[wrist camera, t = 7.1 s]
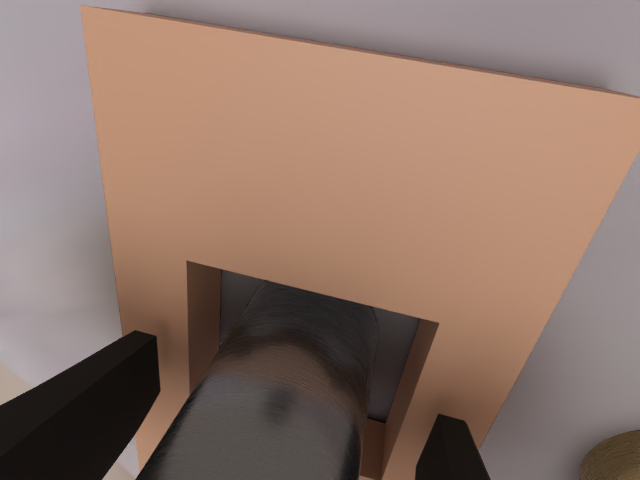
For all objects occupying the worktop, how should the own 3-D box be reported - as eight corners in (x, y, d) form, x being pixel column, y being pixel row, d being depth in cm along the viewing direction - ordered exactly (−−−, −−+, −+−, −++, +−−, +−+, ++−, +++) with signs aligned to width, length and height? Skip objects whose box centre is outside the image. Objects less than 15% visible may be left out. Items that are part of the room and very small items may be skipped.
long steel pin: (356, 390, 13) (302, 708, 7) (242, 350, 13) (91, 619, 7) (396, 295, 11) (372, 618, 5) (261, 250, 11) (74, 502, 5)
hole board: (407, 521, 15) (407, 583, 13) (171, 447, 16) (143, 495, 15) (608, 89, 8) (665, 102, 6) (145, 13, 9) (79, 4, 7)
